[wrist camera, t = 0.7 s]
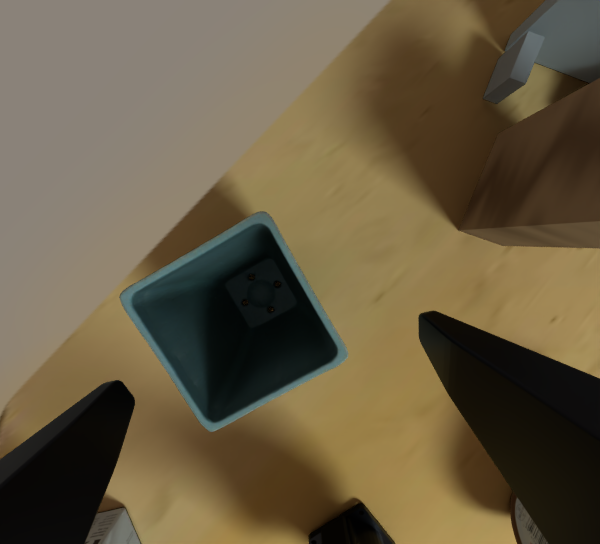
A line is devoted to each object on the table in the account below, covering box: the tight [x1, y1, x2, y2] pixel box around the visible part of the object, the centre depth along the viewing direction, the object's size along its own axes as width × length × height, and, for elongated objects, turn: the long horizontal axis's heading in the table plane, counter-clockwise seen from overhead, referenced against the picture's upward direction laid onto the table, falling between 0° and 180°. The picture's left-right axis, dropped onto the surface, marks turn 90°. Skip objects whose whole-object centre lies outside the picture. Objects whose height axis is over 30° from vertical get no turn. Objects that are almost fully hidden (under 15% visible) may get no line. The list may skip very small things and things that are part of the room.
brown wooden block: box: [459, 78, 600, 248], centre depth 14 cm, size 8×4×12 cm, turn 161°
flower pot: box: [119, 212, 348, 432], centre depth 17 cm, size 9×9×9 cm
